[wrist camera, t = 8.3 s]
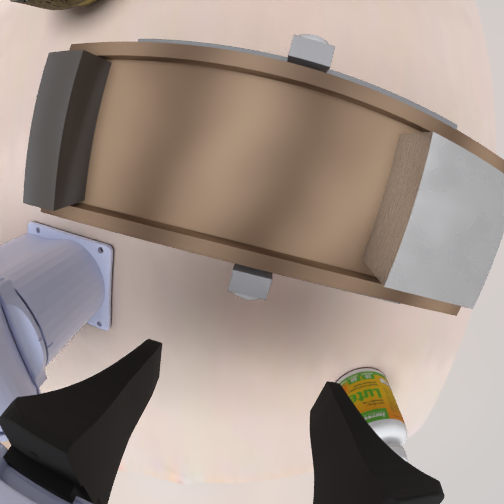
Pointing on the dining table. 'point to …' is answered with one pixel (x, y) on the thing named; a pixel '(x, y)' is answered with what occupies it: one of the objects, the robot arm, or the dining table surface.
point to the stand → (312, 56)
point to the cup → (56, 3)
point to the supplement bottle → (377, 406)
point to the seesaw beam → (223, 157)
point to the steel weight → (437, 221)
